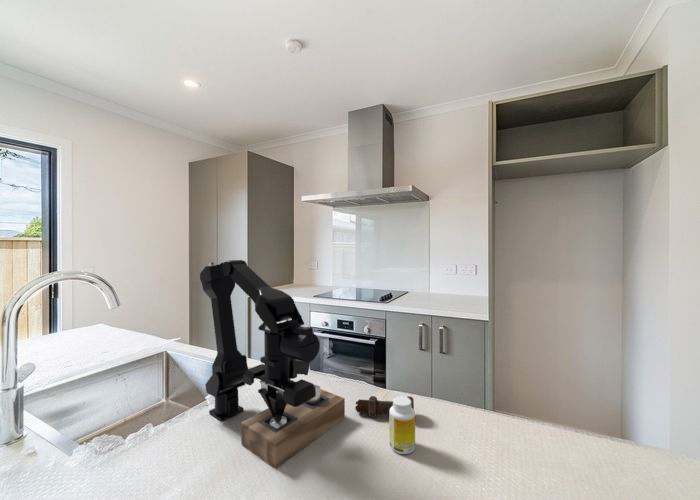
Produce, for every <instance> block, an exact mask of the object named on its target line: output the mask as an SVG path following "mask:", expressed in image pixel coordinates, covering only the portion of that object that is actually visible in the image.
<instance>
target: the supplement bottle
mask: <svg viewBox="0 0 700 500" xmlns="http://www.w3.org/2000/svg"><path fill="white" fill-rule="evenodd" d="M392 401H393V406H392V407H391V408H390V411H389V416H388V417H389V422H388V423H389V445H390V448H391V449H392V450H393V451H394V452H395V453H397V454H400V455H408V454H411V453H413V451H415V449H416V413H415V408H414V409H413V408H412V406H411V400H410V399H409V398H407V397H406V396H402V395H400V396H396V397H394V398H393V400H392Z"/></svg>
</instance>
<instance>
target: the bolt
mask: <svg viewBox="0 0 700 500" xmlns="http://www.w3.org/2000/svg"><path fill="white" fill-rule="evenodd" d="M407 398H409V399H410V400H411V406H412V408H413V409H414V410H415V406H414V405H415V403H414V397H413V396H409V395H408V396H407ZM392 406H393V400H378V398H377V396H375V395H371V396H370V397H369V398H368V399H358V400H357V401H355V411H356V413H362V414H368V416H369V417H370V418H377V416H378V415H389V411H390V408H391V407H392Z"/></svg>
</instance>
